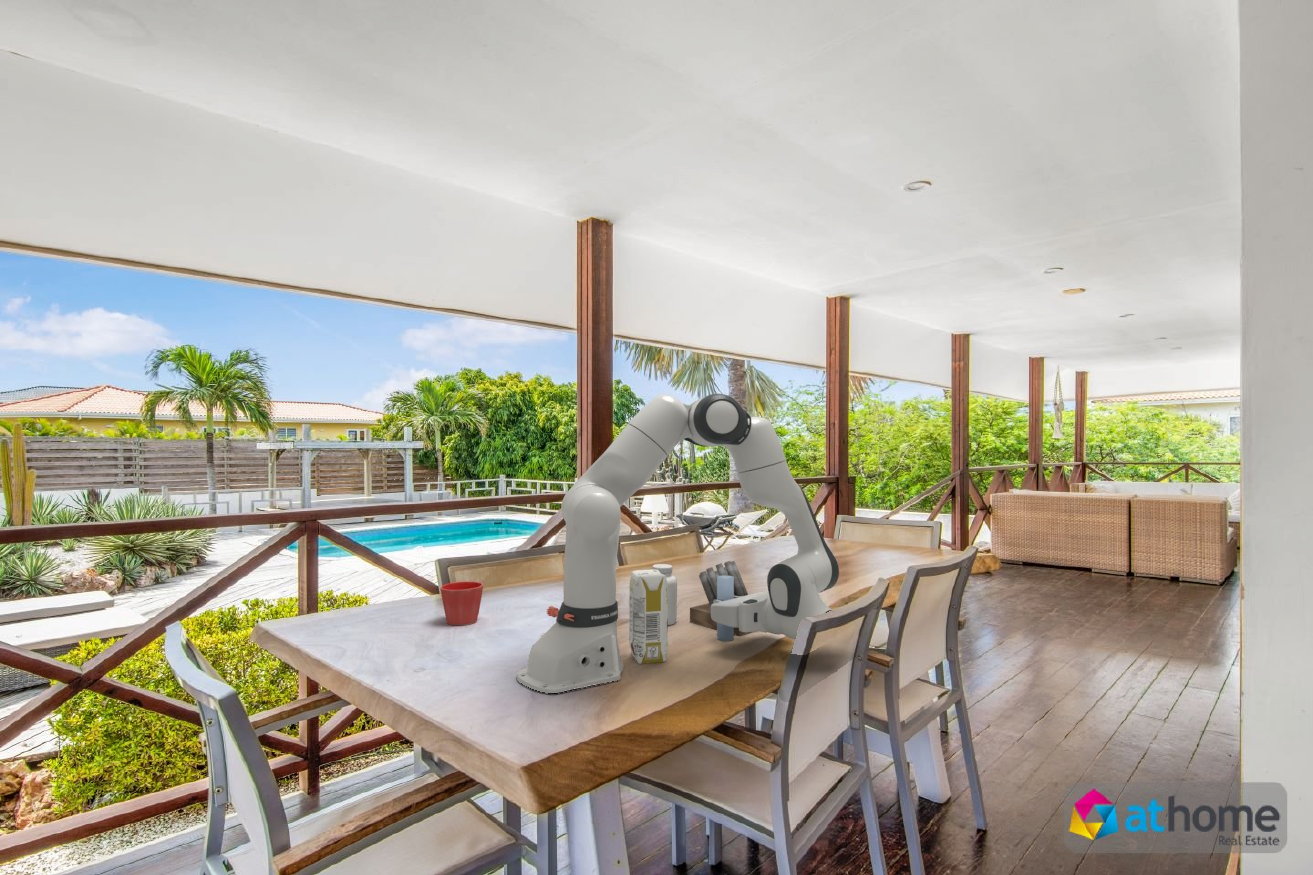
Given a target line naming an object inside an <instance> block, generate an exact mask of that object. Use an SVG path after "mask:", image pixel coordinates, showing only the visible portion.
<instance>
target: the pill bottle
mask: <svg viewBox="0 0 1313 875" xmlns="http://www.w3.org/2000/svg"><path fill="white" fill-rule="evenodd" d="M651 570H658V571H659V572H660V573H661V574H664V575H666V580H667V585H668V626H670V625H674V624H676V623H677V616H678V615H677V614H678V613H677V612H678V611H677V610H678V580H677V578H676V576H675V575H673V566H672V565H671V564H667V563H656V564H653V565H652V569H651Z"/></svg>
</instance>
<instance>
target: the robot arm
mask: <svg viewBox="0 0 1313 875" xmlns="http://www.w3.org/2000/svg"><path fill="white" fill-rule="evenodd" d="M683 440H684V441H686V442H689V443H691V444H693V445H695V446H697V447H704V448H707V447H709V448H710V447H711V448H713V447H720V446H723V447H725V448H726V449H727V451H729V453H730V454H731V456H732V458H733V461H734V466H735V469H736V473H737V477H738V481H739V484H740V487H741V489H742V491H743V493H744V495H745V496H746V498H747V499H748V500H750V501H751V502H752V503H754V504H755V505H757V506H760V507H764V508H768V509H769V508H770V509H775V510H777V511H779V512H780V513H781V514H783V515H784V517H785V518H786V519H787V521H788V522H787V523H788V524H789V527H790V529H791V532H792V534H793V537H794V539H795V542H796V545H797V547H798V550H797V553H796V554H795V555H793V556H791V557H788V558H785V559H784V560H782V561H780V562H778V563H777V564H774V565H773V566H772V567H771V568H770V569H769V571H768V573H767V576H766V580H767V582H766V584H767V591H766V590H765V591H759V592H755V593H752V594H748V595H746V596H734V599H730V600H726V601H723V600H721V599H716V600H714V601H713V604H712V605H711V618H712V620H713V621H715V622H718V623H720V624H723V625H727V626H730V627H735V628H739V631H741V632H745V633H747V632H751V633H757V632H759V633H760V632H761V633H769V634H773V635H783V636H785V637H787V638H789V639H791V640H795V639H796V636H797V630H798V627H799V624H800V621H801V620H802V619H803V618H806V617H812V616H817V615H821V614H824V613H827V612H829V611H833V609H831V608H830V607H829V606H827V604H826V603H825V601H824V600H823V599H822V597H821V596H820V593H822V592H825V591H829V590H830V589H832V588H833V587H834V586H835V585H837V582H838V580H839V578H840V577H839V576H840V568H839V564H838V562H837V559H836V557H835V555H834V553H833V552H832V550H831V549H830V547H829V545H828V544H827V542H826V541H825V540H826V539H825V538H824V536H823V534H822V531H821V528H820V526H819V523H818V521H817V518H816V516H815V513H814V511H813V509H812V506H811V504H810V502H809V499H808V497H807V495H806V492H805V491H804V489H803V488H802V486H800V484H798V483H797V482H796V481H795V479H794V477H793V475H792V472H791V470H790V468H789V465H788V462H787V459H786V456H785V452H784V449H783V447H782V444H781V441H780V439H779V437H778V434H777V432H776V430H775V428H774V427H773V425H772V423H771V422H770V420H768V419H766V418H764V417H762V416H751V415H750V414H749V413H748V411H746V410H745V409H744V408H743V407H742V406H741V404H740V403H739V402H738V401H737V400H736V399H734V398H733V397H732V396H730V395H728V394H724V393H713V394H712V393H711V394H708V395H706V396H703V397H701V398H699V399H697V400H695V401H693V402H692V403H690V404H686V403H683V402H682V401H681V400H680V399H678V398H677V397H674V396H672V395H669V394H660V395H657V396H655V397H653V398H652V399H651V401H648V403H647V404H646V405H644V407H642V408H641V409H640V410H639V411H638V412H637V413H636V414H635V415H634V416H633V418H631V419H630V421H629V422H628V423H627V425H625V427H624V428H622V431H621V432H620V433H619V434H618V435H617V436H616V438H615V439H614V440H613V441H612V442H611V443H610V445H609V446H608V447H607V449H606V450H605V451H604V452H603V453H602V454H601V455H600V456H599V457H598V458H597V460H595V462H593V463H592V464H591V466H589V468H587V470H586V471H585V472H583V474H582V475H581V476H580V477H579V479H577V481H576V482H574V484H573V485H572V486H571V487H570V488H569V490H568V491H567V492H566V493H565V495H564V497H563V498H562V501H561V505H560V506H561V511H560V512H561V515H562V518H563V520H564V522H565V542H564V543H565V544H564V547H565V548H564V560H563V586H562V587H563V588H562V589H563V601H562V602H561V605H560V607H559V608H557V607H554V606H552V605H550V606H548V607H547V609H546V615H547V616H549V617H552V618H556V619H555V623H554V624H553V625H552V626H550V628H549V629H548V630H547V631H546V632H545V633H544V634H543V635H542V636H541V637H540V638H539V639H538V640H537V641H536V642H535V643H534V644H532V646H531V648H530V651H529V654H528V660H527V661H528V663H527V667H524V668H523V669H520V670H517V671H516V681H517V682H519V683H520V684H521V683H522V684H523V686H524V685H525V686H524V687H526V686H527V687H526V688H528V687H529V688H528V689H530V688H531V689H530V690H532V689H534V690H533V691H535V690H537V691H536V692H538V691H540V692H539V693H542V692H545V693H544V694H548V693H557V692H563V691H565V690H569V689H574V688H578V687H584V686H588V685H593V684H598V683H604V684H608V683H607V682H609V683H612V681H614V682H617V680H618V681H620V680H621V679H620V678H621V673H622V672H623V671H624V668H625V667H624V664H623V662H622V661H623V660H622V657H621V653H620V646H619V640H618V639H619V638H618V629H617V627H618V626H617V623H618V619H619V604H618V603H619V602H618V601H617V594H616V593H617V590H616V589H617V557H618V549H619V542H620V541H619V540H620V531H621V517H622V515H621V513H622V512H621V507H622V506H623V505H624V504H625V503H626V502H627V501H628V500H629V499H630V498H631V497H632V496H633V495H634V494H635V493H636V492H637V491H639V490H640V489H641V488H642V487H644V486H645V485H646V483H648V481H649V480H650V478H651V477H652V476H653V475H654V474H655V472H656V471H657V470H658V469H659V467H660V466H661V465H662V464H663V462H664V461H665V460H666V459H667V457H668V456H669V455H670V454H671V453H672V451H673V449H675V447H676V446H677V445H679V443H680V442H681V441H683ZM795 641H796V640H795ZM522 684H521V685H522ZM563 693H564V692H563Z"/></svg>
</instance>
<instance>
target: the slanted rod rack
mask: <svg viewBox="0 0 1313 875" xmlns="http://www.w3.org/2000/svg"><path fill="white" fill-rule="evenodd" d="M715 569H716V570H714V568H713V567H712V566H711V567H708V568H706V569H705V570H704V571H701V572H700V573H699V575H698V578H699V581H700V583H701V586H702V588H703V591H704V594H705V596H706V599H707V601H708V603H704V604H700V605H696V606H691V607H689V623H691V624H696V625H699V626H702V627H706V628H709V629H713V630H716V631H717V622H715V621H713V620H712V618H711V605H712V604H713V601H714V600H716V599H717V577H718V576H722V575H727V576H733V577H734V596H746V595H749V593H748V591H747V588H746V585H745V583H744V581H743V578H742V576H741V573H740V571H739V568H738V566H737V564H736V561H735V560H727V561H726V562H724V563H721V562H720V563H718V564H716V565H715ZM751 633H752V632H747V633H745V632H741V631H739V628H735V627H734V636H738V637H740V636H744V635H747V634H751Z"/></svg>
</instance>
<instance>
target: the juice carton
mask: <svg viewBox="0 0 1313 875" xmlns="http://www.w3.org/2000/svg"><path fill="white" fill-rule="evenodd" d="M628 591H629V596H628V597H629V603H628V604H629V605H628V606H629V609H628V610H629V613H628V614H629V615H628V616H629V619H628V621H629V622H628V623H629V628H628V629H629V632H628V633H629V634H628V635H629V637H628V638H629V639H628V640H629V642H628V643H629V647H630V648H629V649H630V653H631V655H632V657H633V658H634V659H635V660H636V662H637V664H639V665H642V664H654V663H655V664H656V663H663V662H666V659H667V654H668V646H669V645H668V638H669V634H668V632H669V631H668V630H669V625H668V585H667V580H666V575H664V574H661V573H660V572H659V571H658V570H652V569H641V570H638V569H637V570H631V575H630V579H629V590H628Z"/></svg>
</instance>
